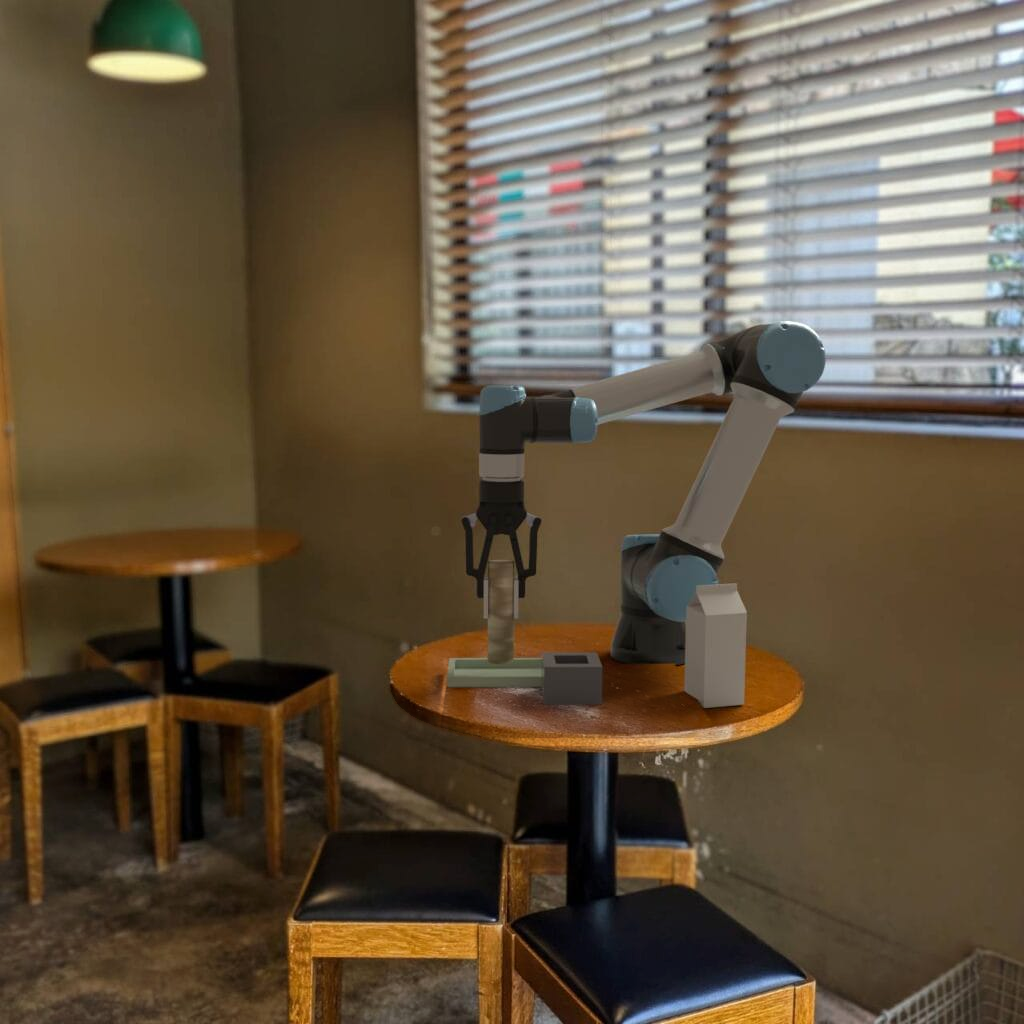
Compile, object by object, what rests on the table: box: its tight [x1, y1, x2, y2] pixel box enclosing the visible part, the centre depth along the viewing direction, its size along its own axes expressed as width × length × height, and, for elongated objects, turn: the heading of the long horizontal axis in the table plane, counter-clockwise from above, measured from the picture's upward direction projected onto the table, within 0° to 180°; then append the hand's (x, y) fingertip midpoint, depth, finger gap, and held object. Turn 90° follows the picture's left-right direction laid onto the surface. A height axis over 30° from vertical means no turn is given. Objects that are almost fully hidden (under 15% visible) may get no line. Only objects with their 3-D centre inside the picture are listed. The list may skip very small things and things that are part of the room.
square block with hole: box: [541, 651, 603, 706], centre depth 175 cm, size 9×9×7 cm
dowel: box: [487, 559, 515, 664], centre depth 185 cm, size 4×4×17 cm
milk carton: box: [683, 583, 748, 709], centre depth 175 cm, size 7×7×19 cm
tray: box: [446, 657, 542, 688], centre depth 187 cm, size 18×12×3 cm, turn 91°
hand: (500, 616), depth 185 cm, fingers closed on dowel, 4 cm apart
